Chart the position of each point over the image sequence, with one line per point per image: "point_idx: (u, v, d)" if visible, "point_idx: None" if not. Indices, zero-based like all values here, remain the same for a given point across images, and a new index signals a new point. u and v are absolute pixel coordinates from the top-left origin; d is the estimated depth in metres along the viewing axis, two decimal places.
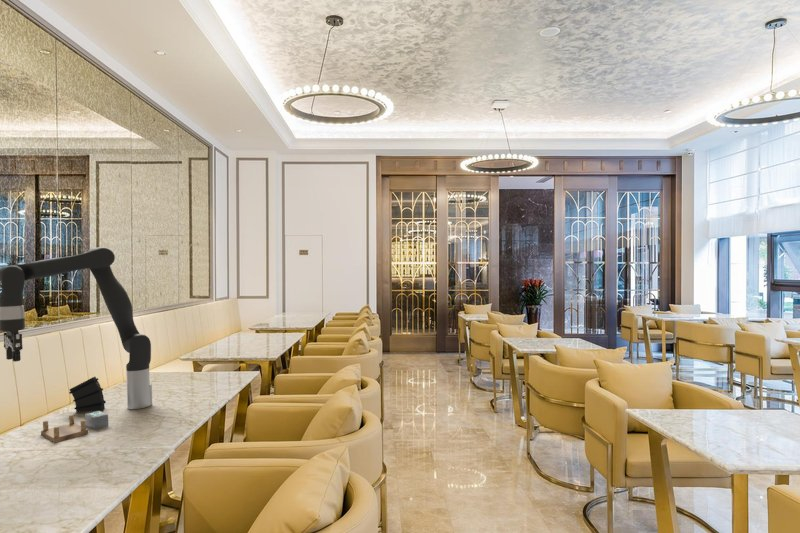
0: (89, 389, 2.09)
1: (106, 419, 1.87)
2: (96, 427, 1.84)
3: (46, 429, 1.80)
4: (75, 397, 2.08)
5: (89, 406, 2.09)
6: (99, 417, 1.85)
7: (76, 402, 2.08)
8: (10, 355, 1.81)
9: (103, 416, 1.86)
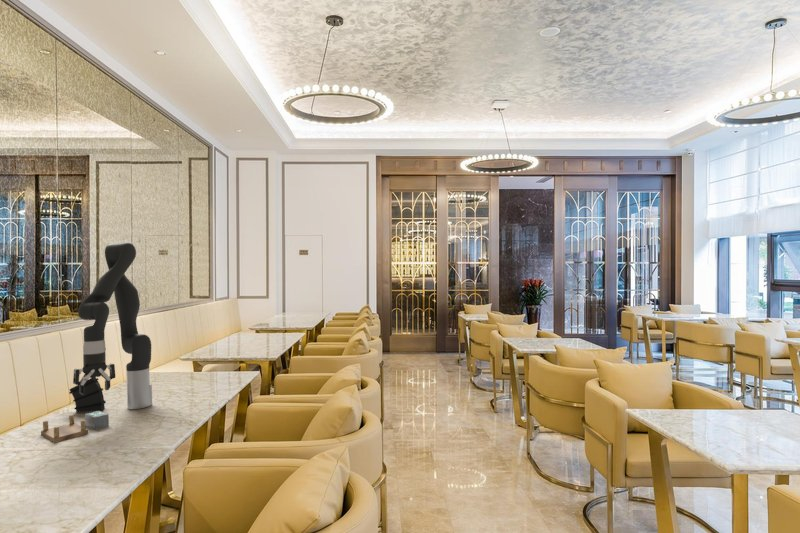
0: (89, 389, 2.09)
1: (106, 419, 1.87)
2: (97, 427, 1.84)
3: (46, 429, 1.80)
4: (75, 397, 2.08)
5: (89, 406, 2.09)
6: (100, 417, 1.85)
7: (76, 402, 2.08)
8: None
9: (103, 416, 1.87)
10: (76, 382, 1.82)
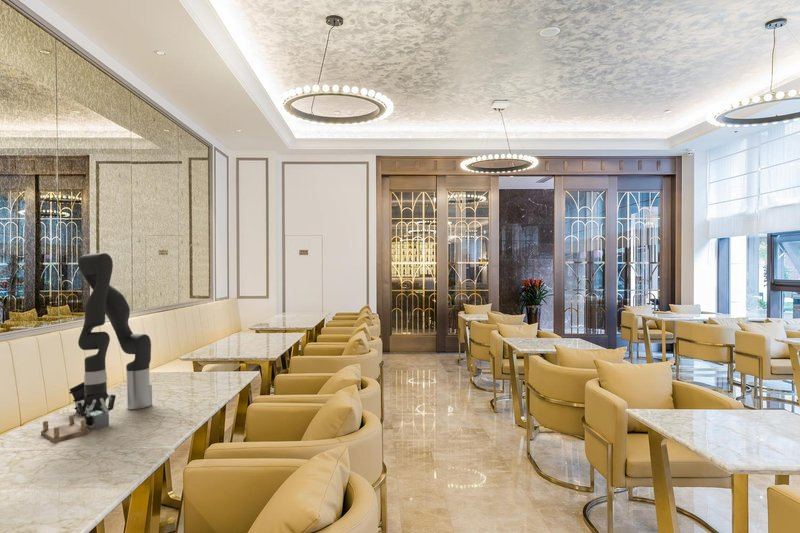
0: None
1: (107, 418, 1.88)
2: (97, 426, 1.85)
3: (46, 429, 1.80)
4: (75, 397, 2.08)
5: None
6: (100, 416, 1.86)
7: None
8: None
9: (104, 415, 1.87)
10: (82, 414, 1.83)
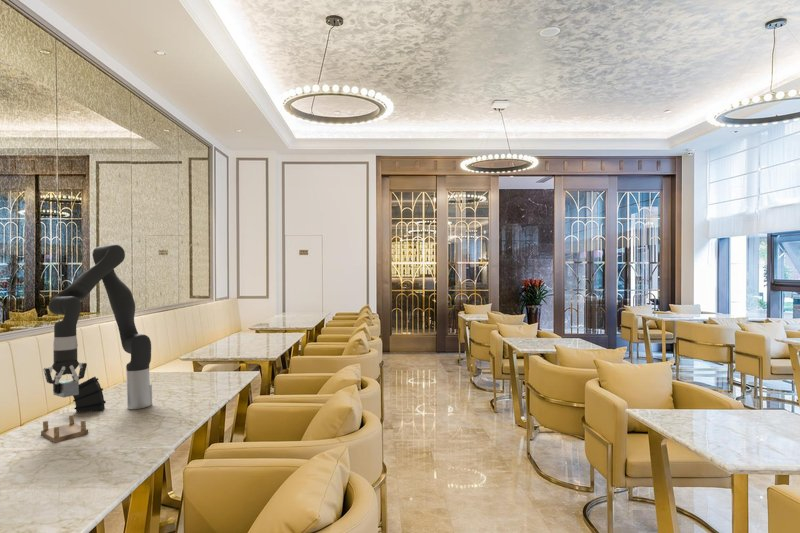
0: (89, 389, 2.09)
1: (76, 386, 1.80)
2: (66, 394, 1.76)
3: (46, 429, 1.80)
4: (75, 397, 2.08)
5: (89, 406, 2.09)
6: (69, 384, 1.77)
7: (76, 402, 2.08)
8: None
9: (73, 383, 1.79)
10: (49, 381, 1.75)
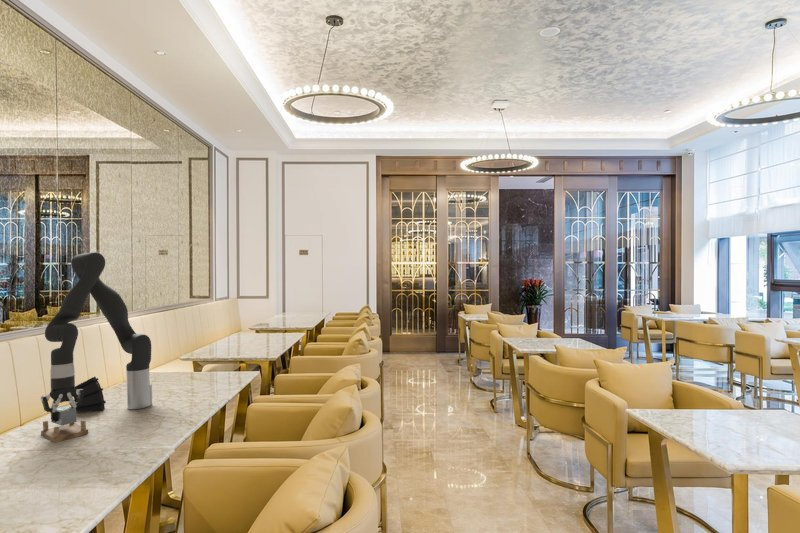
0: (89, 389, 2.09)
1: (74, 414, 1.79)
2: (63, 422, 1.76)
3: (46, 429, 1.80)
4: (75, 397, 2.08)
5: (89, 406, 2.09)
6: (67, 412, 1.77)
7: None
8: None
9: (71, 411, 1.78)
10: (47, 409, 1.75)
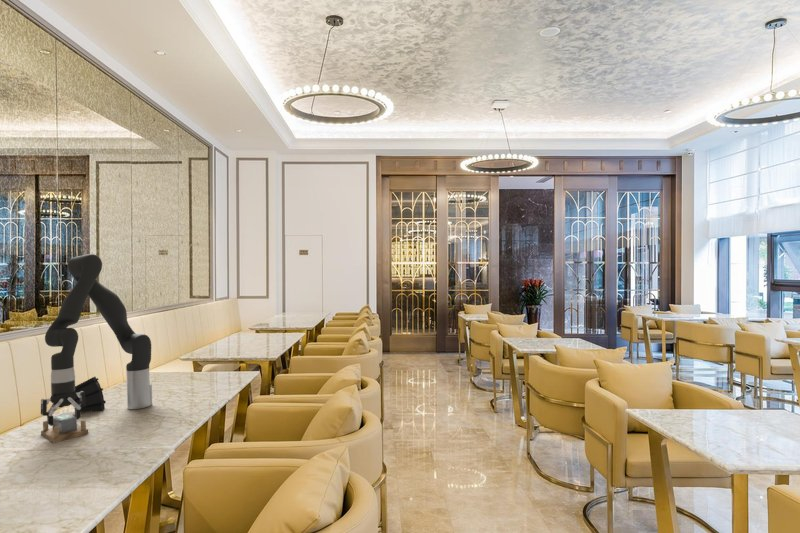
0: (89, 389, 2.09)
1: (74, 422, 1.79)
2: (63, 431, 1.76)
3: (46, 429, 1.80)
4: None
5: (89, 406, 2.09)
6: (67, 420, 1.77)
7: (76, 402, 2.08)
8: None
9: (71, 419, 1.78)
10: (43, 413, 1.74)
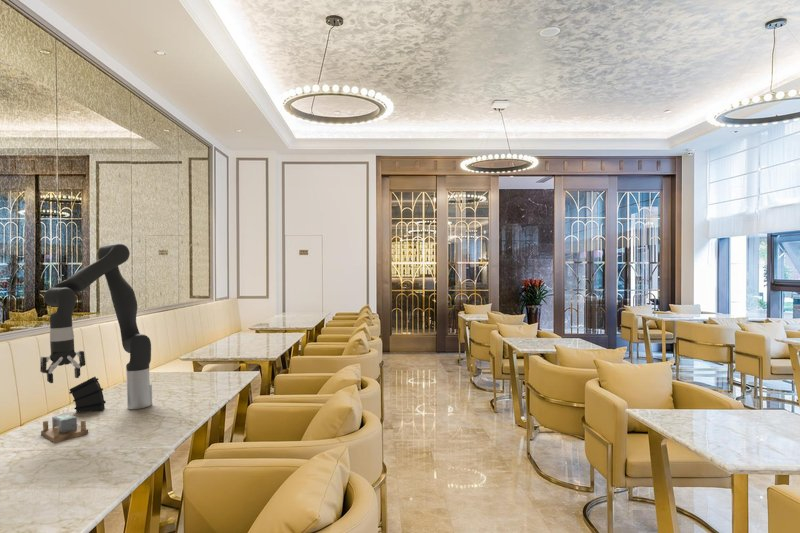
0: (89, 389, 2.09)
1: (74, 422, 1.79)
2: (63, 431, 1.76)
3: (46, 429, 1.80)
4: (75, 397, 2.08)
5: (89, 406, 2.09)
6: (67, 420, 1.77)
7: (76, 402, 2.08)
8: None
9: (71, 419, 1.78)
10: (43, 370, 1.76)
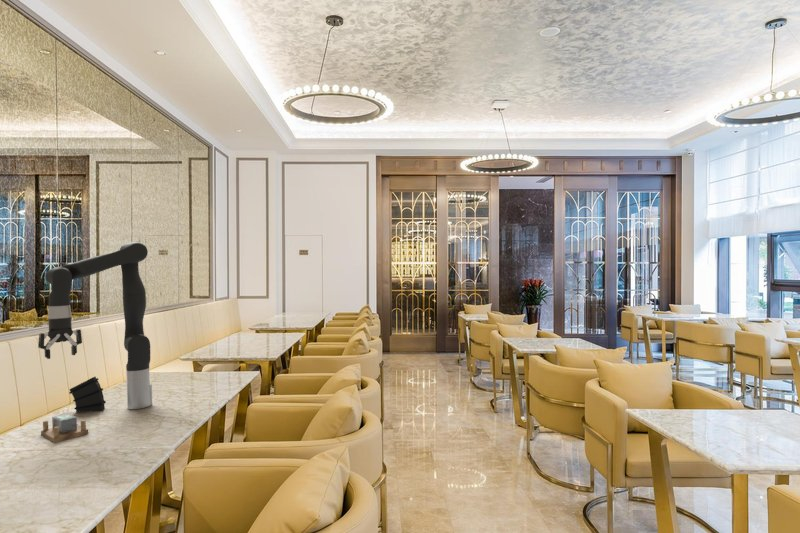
0: (89, 389, 2.09)
1: (74, 422, 1.79)
2: (63, 431, 1.76)
3: (46, 429, 1.80)
4: (75, 397, 2.08)
5: (89, 406, 2.09)
6: (67, 420, 1.77)
7: (76, 402, 2.08)
8: None
9: (71, 419, 1.78)
10: (41, 346, 1.84)
